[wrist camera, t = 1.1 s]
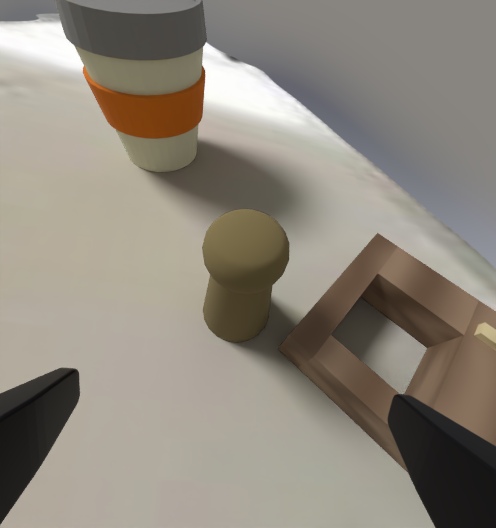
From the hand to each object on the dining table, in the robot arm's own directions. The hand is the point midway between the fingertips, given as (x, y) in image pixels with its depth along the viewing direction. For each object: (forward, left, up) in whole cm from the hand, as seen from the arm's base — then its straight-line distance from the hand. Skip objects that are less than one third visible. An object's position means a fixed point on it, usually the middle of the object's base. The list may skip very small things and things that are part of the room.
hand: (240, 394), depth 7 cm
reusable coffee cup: (+28, -15, -14) cm, 35 cm away
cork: (+5, -6, -14) cm, 16 cm away
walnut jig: (-10, -13, -14) cm, 21 cm away
